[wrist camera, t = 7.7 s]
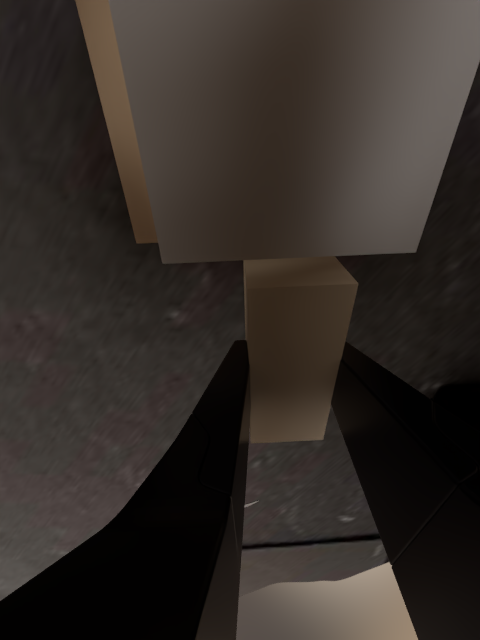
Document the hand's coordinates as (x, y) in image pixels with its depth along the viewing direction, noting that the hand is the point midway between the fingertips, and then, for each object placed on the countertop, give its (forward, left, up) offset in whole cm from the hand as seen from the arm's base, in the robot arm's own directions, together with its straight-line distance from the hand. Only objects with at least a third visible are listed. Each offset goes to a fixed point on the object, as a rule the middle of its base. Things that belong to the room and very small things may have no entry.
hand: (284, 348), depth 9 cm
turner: (0, -3, -1) cm, 3 cm away
